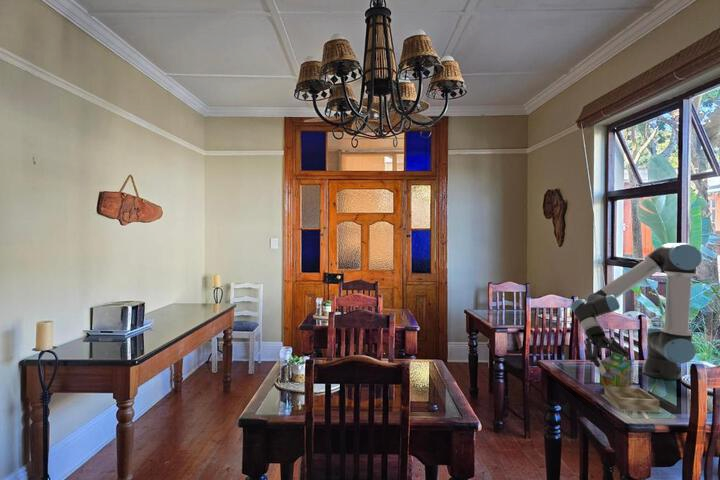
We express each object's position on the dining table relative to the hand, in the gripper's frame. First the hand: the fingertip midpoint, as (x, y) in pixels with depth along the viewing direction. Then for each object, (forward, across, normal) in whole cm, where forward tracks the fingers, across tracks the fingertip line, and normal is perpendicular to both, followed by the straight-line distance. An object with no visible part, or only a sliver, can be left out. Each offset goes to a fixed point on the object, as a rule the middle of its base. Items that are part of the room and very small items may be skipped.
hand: (617, 372), depth 181 cm
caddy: (+14, +4, +2) cm, 14 cm away
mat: (+14, +4, +1) cm, 15 cm away
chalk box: (+3, -1, -6) cm, 7 cm away
